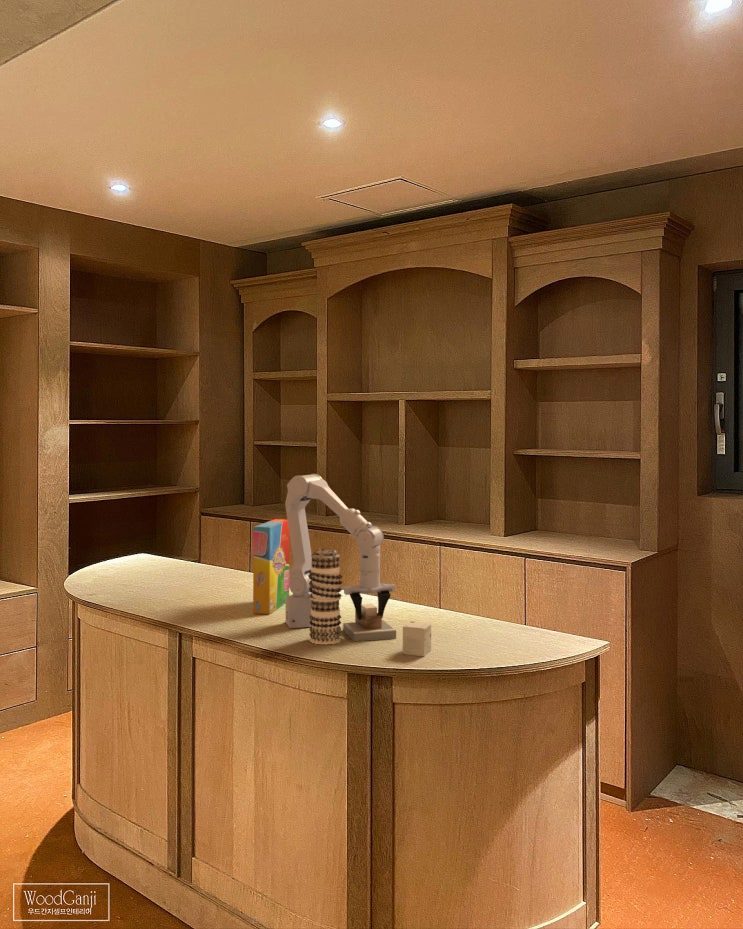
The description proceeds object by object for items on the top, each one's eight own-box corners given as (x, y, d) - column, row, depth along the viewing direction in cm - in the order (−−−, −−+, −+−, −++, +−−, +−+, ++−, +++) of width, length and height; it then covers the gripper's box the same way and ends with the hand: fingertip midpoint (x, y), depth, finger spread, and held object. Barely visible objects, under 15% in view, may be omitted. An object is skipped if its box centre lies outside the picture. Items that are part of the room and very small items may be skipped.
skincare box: (424, 657, 206) (424, 628, 205) (401, 654, 208) (402, 626, 208) (431, 650, 211) (431, 623, 211) (409, 648, 214) (409, 620, 213)
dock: (354, 641, 219) (354, 632, 219) (343, 629, 231) (343, 622, 231) (396, 638, 223) (396, 629, 223) (383, 627, 234) (383, 619, 234)
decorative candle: (301, 640, 220) (301, 549, 218) (326, 634, 226) (327, 546, 225) (323, 647, 213) (323, 553, 212) (348, 640, 220) (349, 550, 218)
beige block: (366, 619, 227) (366, 608, 227) (360, 614, 232) (360, 604, 231) (376, 618, 228) (377, 607, 228) (371, 614, 233) (371, 603, 232)
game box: (269, 615, 247) (269, 527, 246) (252, 614, 248) (252, 526, 247) (289, 600, 268) (289, 518, 266) (273, 599, 269) (273, 518, 267)
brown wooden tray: (364, 629, 224) (364, 617, 224) (355, 621, 233) (355, 609, 232) (381, 628, 226) (381, 616, 225) (371, 620, 234) (371, 608, 234)
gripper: (348, 574, 220) (348, 623, 221) (398, 571, 224) (398, 619, 225) (342, 569, 227) (342, 617, 227) (391, 567, 231) (390, 613, 232)
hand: (369, 618), depth 227 cm, fingers open, 6 cm apart
